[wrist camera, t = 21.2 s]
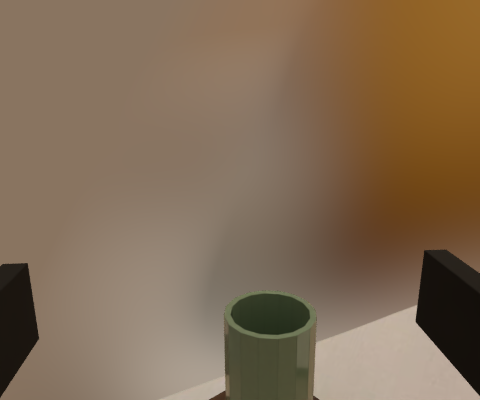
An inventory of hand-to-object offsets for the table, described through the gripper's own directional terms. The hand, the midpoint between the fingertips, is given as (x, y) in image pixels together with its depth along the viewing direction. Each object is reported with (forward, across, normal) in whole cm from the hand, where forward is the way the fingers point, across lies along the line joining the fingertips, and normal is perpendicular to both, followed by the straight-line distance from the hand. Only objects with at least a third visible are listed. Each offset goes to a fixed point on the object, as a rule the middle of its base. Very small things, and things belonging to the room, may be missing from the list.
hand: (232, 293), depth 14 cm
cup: (+16, +4, -20) cm, 26 cm away
